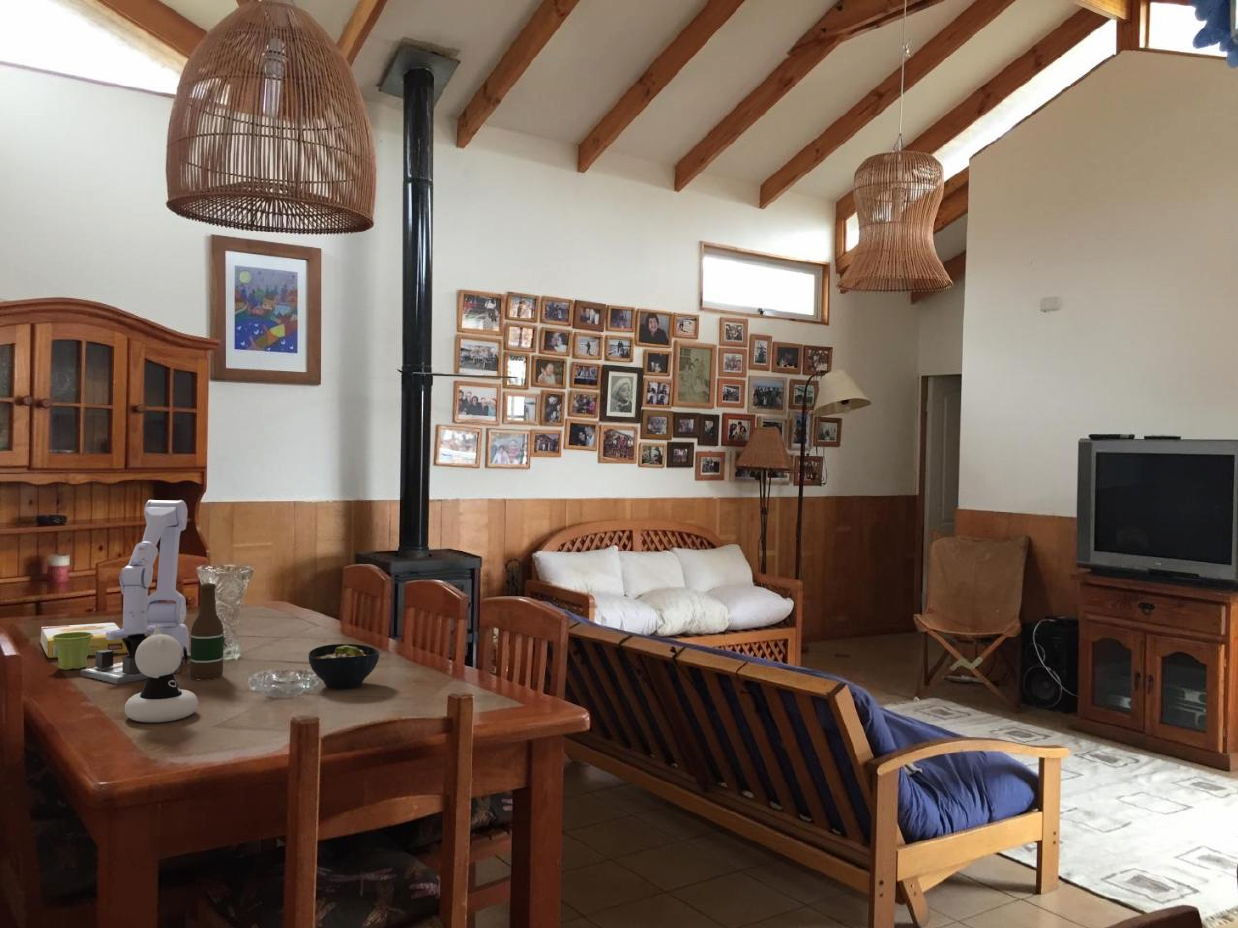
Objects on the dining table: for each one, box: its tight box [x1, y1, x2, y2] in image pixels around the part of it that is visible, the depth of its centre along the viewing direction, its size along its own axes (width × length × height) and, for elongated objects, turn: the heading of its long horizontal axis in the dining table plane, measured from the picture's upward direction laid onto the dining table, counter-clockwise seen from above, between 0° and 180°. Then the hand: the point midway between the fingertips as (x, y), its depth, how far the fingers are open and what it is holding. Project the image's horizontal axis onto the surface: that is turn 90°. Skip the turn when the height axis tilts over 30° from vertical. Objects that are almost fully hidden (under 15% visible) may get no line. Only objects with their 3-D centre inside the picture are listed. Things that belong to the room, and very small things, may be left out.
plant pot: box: [52, 632, 93, 671], centre depth 263 cm, size 9×9×9 cm
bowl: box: [308, 643, 380, 691], centre depth 248 cm, size 17×17×10 cm
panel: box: [80, 649, 180, 685], centre depth 257 cm, size 17×16×6 cm
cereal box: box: [40, 622, 128, 659], centre depth 289 cm, size 20×6×28 cm
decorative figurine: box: [124, 623, 199, 724], centre depth 217 cm, size 15×15×20 cm
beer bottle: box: [189, 582, 225, 681], centre depth 255 cm, size 8×8×24 cm
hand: (134, 663), depth 257 cm, fingers closed
